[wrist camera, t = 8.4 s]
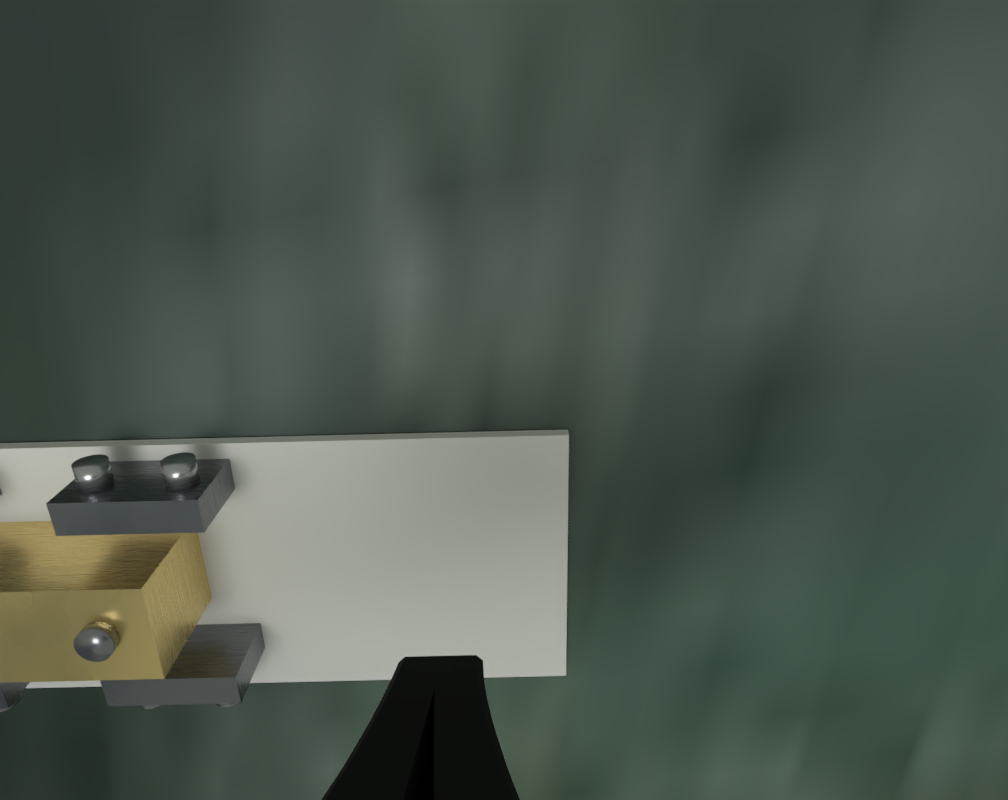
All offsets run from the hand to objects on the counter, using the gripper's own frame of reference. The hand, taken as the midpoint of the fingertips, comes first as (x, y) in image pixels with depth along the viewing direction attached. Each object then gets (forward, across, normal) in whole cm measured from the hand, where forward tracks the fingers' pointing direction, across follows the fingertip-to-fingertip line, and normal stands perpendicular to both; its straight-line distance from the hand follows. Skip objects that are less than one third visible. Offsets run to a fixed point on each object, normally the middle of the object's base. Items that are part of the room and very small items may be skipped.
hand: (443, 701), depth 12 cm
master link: (+10, +12, +4) cm, 16 cm away
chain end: (+10, +9, +4) cm, 14 cm away
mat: (+10, +8, +4) cm, 14 cm away
